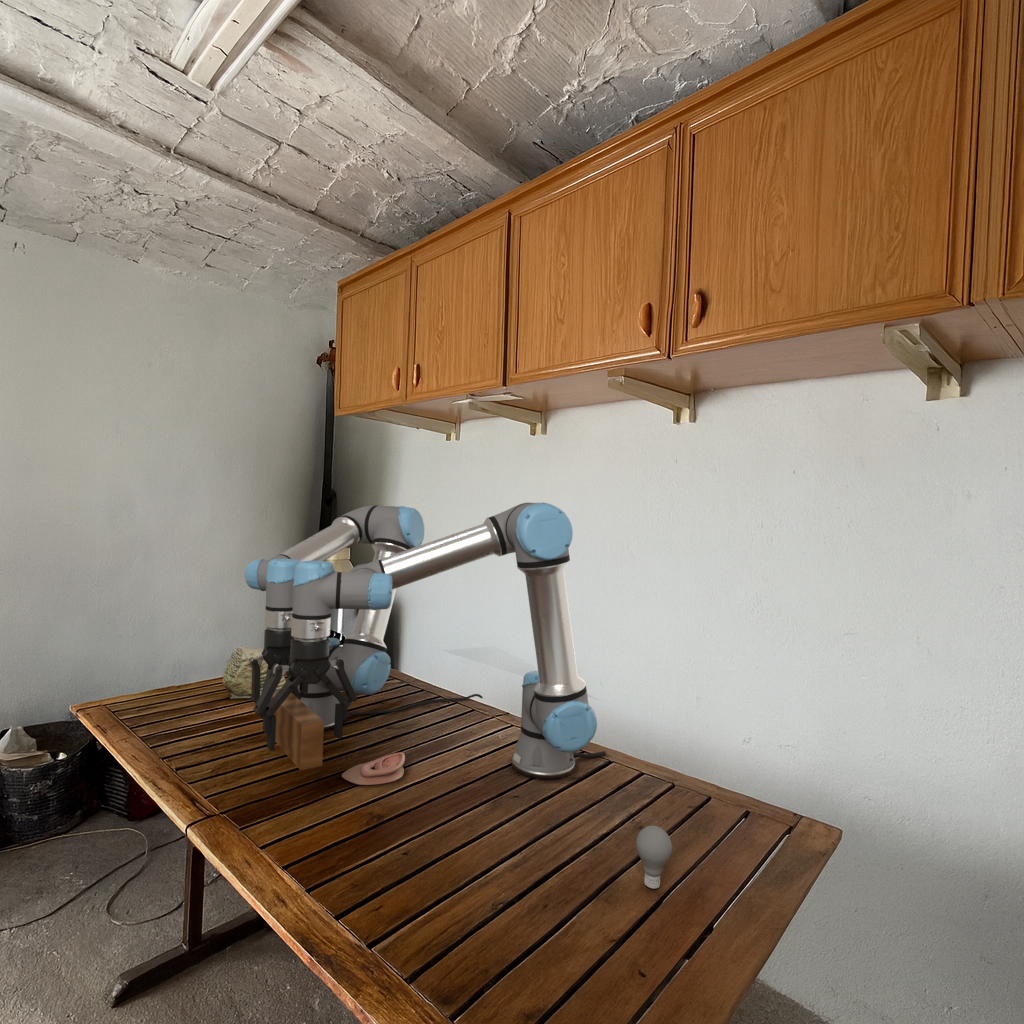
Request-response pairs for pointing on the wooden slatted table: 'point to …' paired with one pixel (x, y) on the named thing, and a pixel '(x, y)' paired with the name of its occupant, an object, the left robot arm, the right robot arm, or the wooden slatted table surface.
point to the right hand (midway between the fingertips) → (305, 742)
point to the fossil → (244, 673)
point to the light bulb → (653, 853)
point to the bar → (299, 733)
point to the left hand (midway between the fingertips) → (278, 729)
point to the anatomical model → (377, 770)
